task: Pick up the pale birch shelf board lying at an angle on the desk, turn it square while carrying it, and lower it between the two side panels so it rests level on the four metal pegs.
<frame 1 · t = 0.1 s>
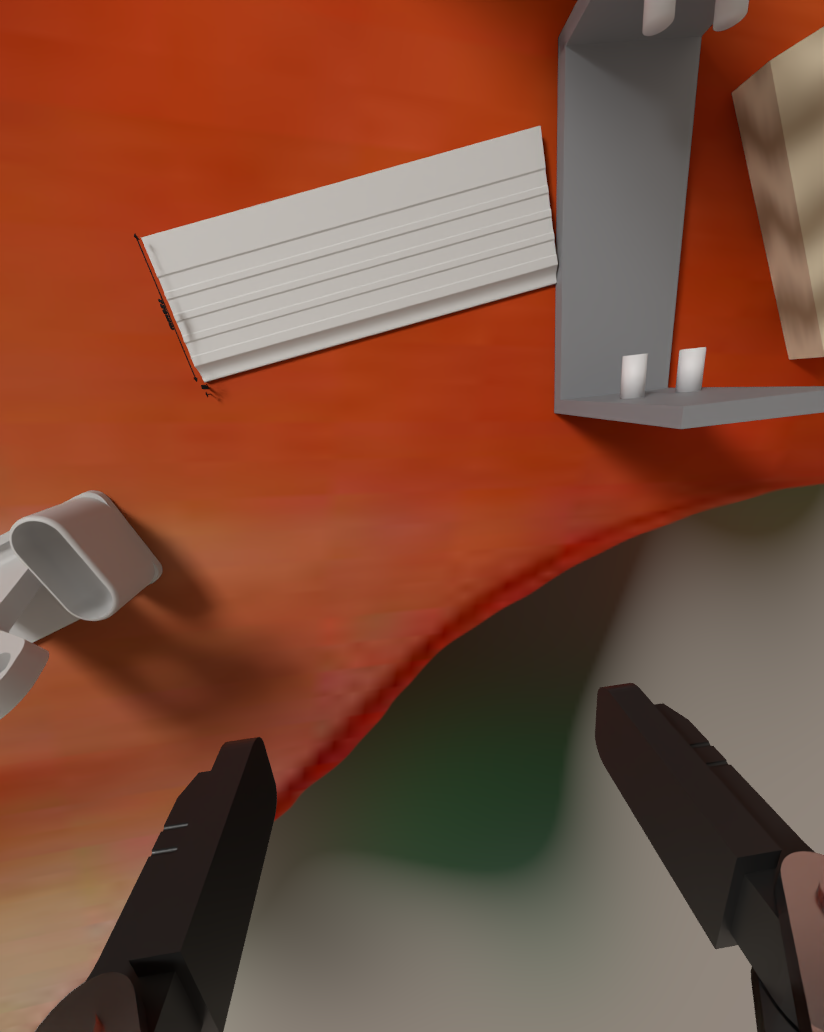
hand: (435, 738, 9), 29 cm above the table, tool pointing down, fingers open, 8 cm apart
phone holder: (63, 569, 37), on the table
shelf frame: (614, 243, 33), on the table
baseboard: (364, 277, 32), on the table
shelf board: (791, 221, 34), on the table
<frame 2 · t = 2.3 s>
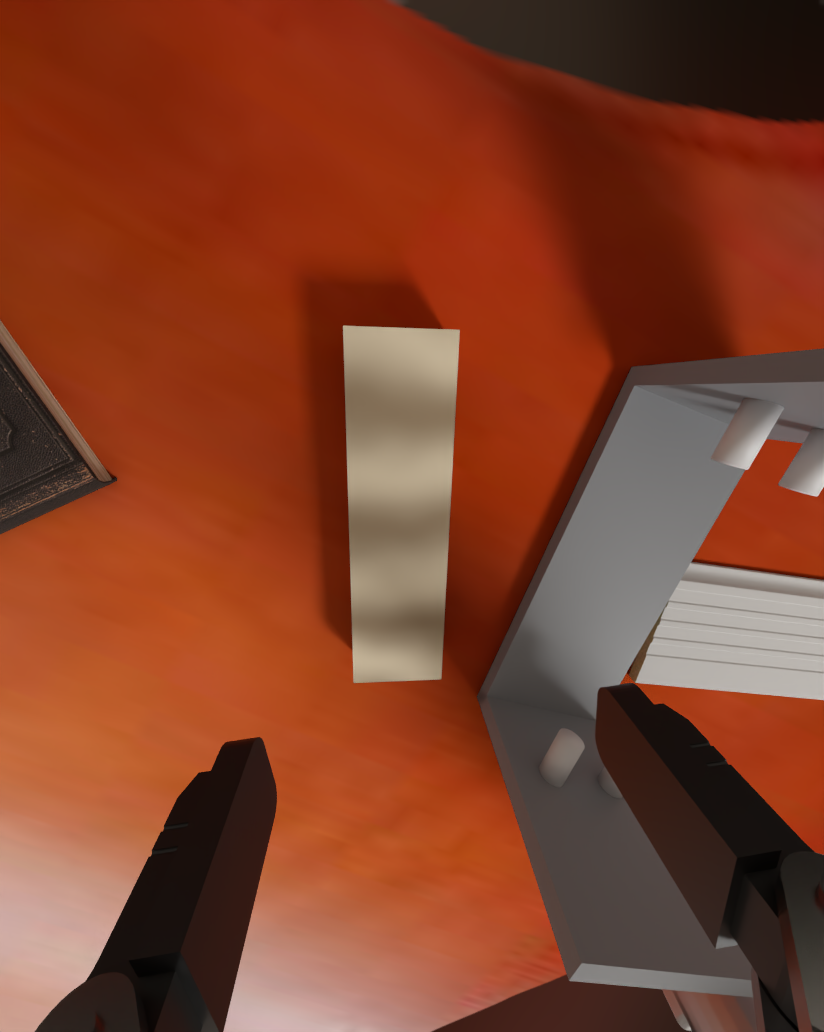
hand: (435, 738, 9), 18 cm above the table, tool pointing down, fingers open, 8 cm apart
shelf frame: (604, 570, 29), on the table
baseboard: (811, 626, 33), on the table
shelf board: (397, 512, 27), on the table
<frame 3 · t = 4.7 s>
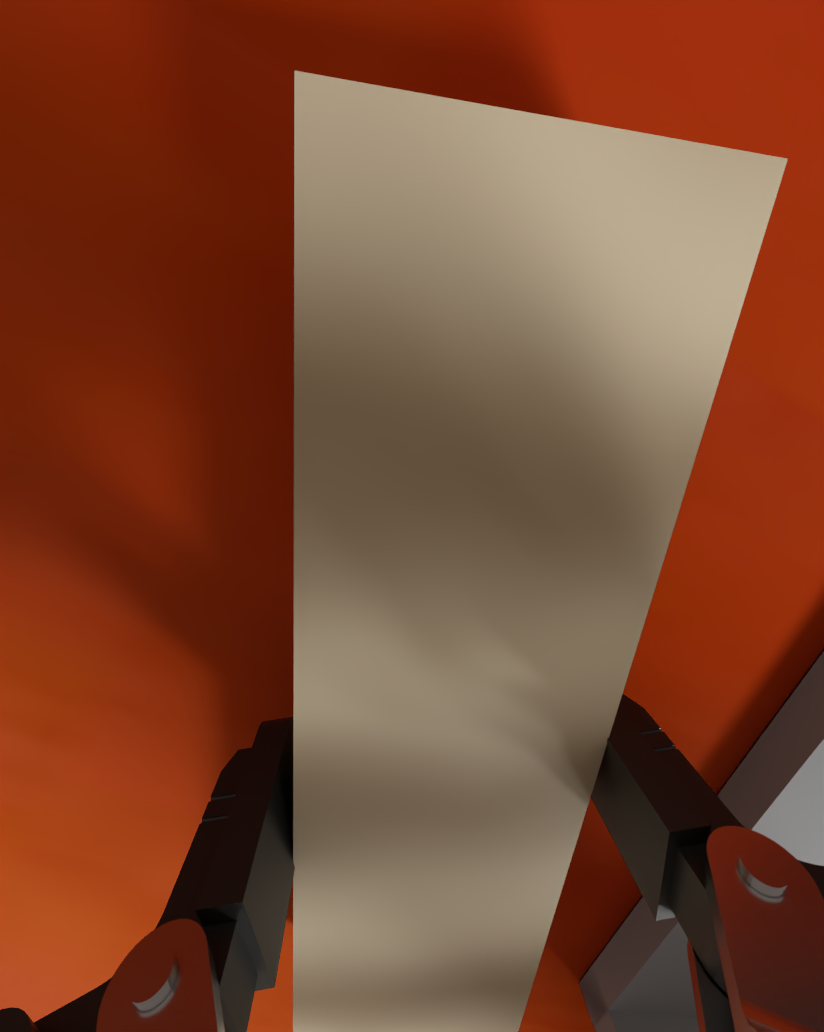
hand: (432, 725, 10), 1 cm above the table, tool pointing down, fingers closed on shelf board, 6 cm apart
shelf board: (426, 682, 11), on the table, touching gripper
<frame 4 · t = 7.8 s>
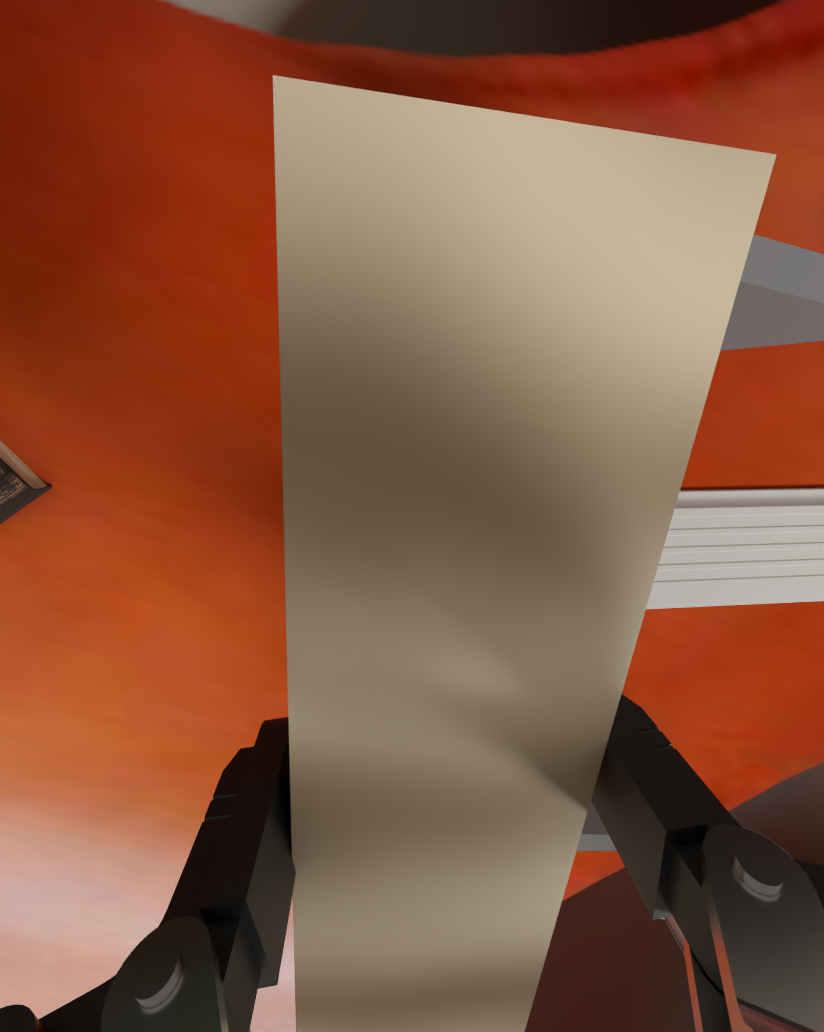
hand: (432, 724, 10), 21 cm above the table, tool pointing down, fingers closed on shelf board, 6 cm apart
shelf frame: (518, 508, 31), on the table
baseboard: (736, 536, 35), on the table
shelf board: (425, 686, 11), point 20 cm above the table, touching gripper
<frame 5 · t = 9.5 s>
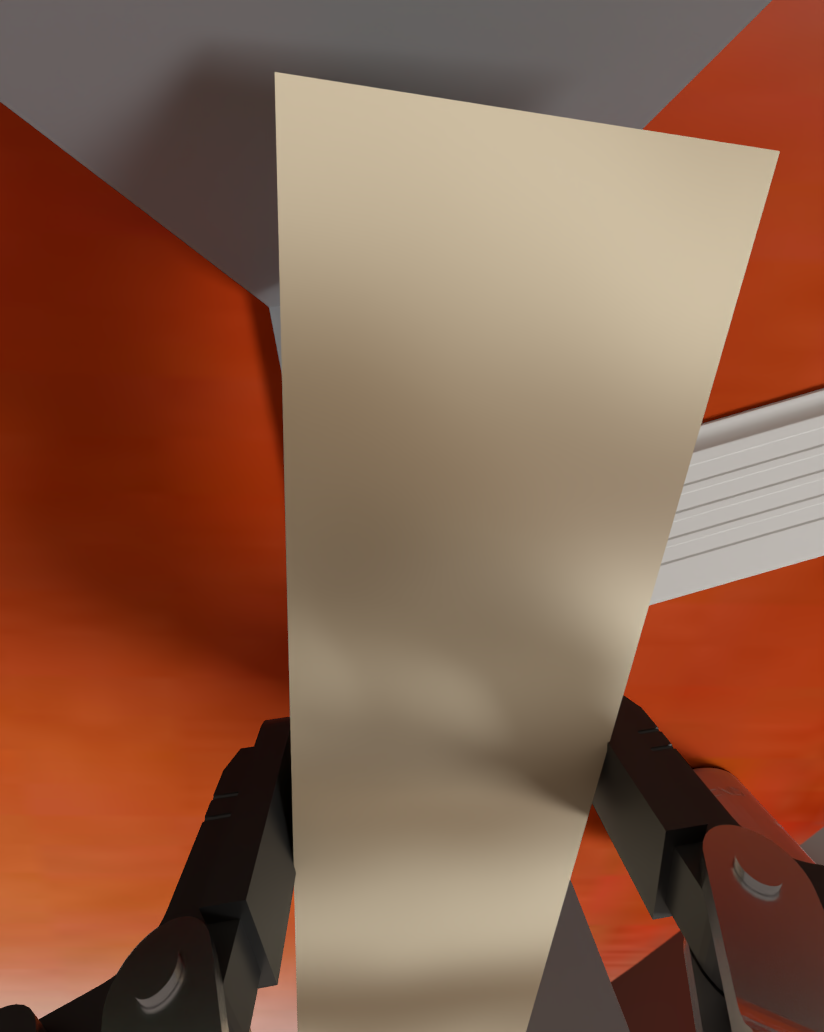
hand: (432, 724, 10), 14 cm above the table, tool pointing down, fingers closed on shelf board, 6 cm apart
shelf frame: (403, 529, 23), on the table
baseboard: (728, 482, 25), on the table
shelf board: (426, 685, 11), point 13 cm above the table, touching gripper
when the fingers open (10 cm above the table, at t = 10.9 s): shelf board stays where it is, resting on shelf frame.
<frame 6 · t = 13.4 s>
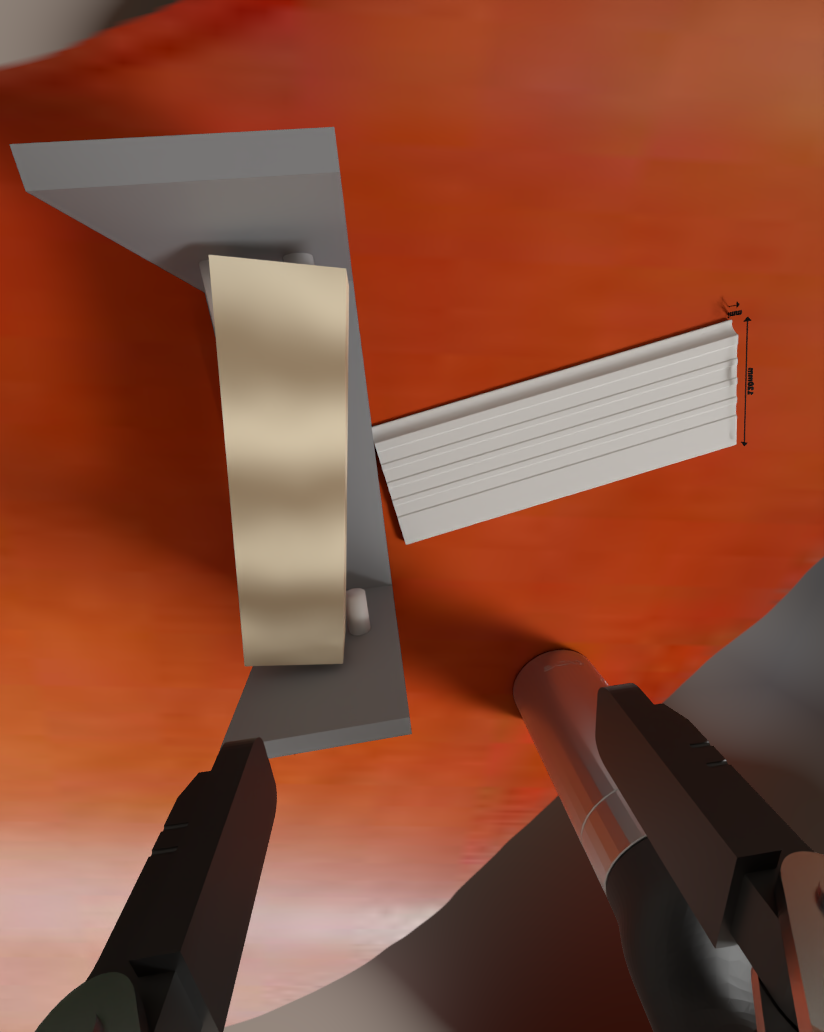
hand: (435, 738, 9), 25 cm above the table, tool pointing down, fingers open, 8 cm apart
shelf frame: (313, 456, 32), on the table
baseboard: (554, 426, 34), on the table
shelf board: (298, 481, 24), point 8 cm above the table, touching shelf frame
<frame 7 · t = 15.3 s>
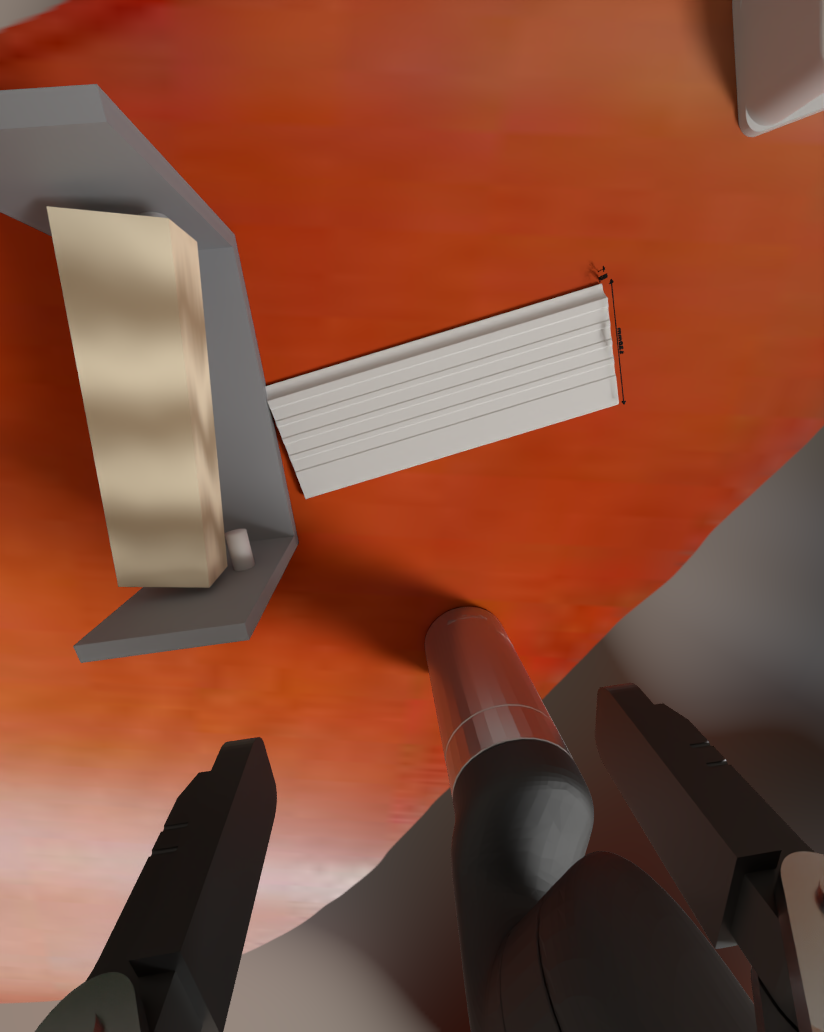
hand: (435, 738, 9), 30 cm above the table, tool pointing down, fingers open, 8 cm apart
shelf frame: (213, 413, 35), on the table
baseboard: (443, 387, 37), on the table
shelf board: (169, 421, 27), point 8 cm above the table, touching shelf frame
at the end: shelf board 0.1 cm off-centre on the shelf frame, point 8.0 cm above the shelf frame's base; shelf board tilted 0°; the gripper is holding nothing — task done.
